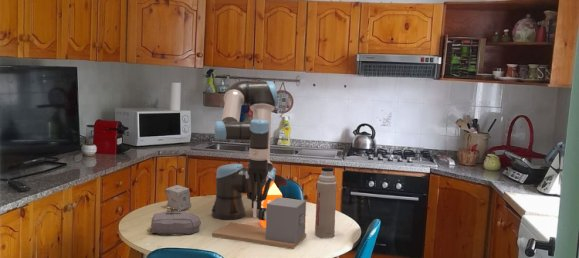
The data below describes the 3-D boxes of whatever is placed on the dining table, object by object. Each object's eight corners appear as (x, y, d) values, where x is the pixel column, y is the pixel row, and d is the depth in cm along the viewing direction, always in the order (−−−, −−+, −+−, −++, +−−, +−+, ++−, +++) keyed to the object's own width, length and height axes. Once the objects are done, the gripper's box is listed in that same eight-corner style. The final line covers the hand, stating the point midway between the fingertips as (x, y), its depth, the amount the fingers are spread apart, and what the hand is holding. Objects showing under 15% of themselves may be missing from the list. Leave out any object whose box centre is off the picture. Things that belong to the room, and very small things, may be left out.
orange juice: (263, 228, 224) (264, 182, 221) (259, 222, 232) (260, 178, 230) (281, 228, 226) (283, 182, 223) (277, 222, 234) (278, 177, 232)
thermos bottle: (316, 237, 214) (319, 169, 211) (313, 231, 222) (316, 165, 219) (335, 238, 215) (338, 170, 212) (332, 232, 223) (335, 166, 220)
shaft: (258, 221, 210) (258, 209, 209) (262, 218, 215) (263, 206, 214) (301, 227, 204) (301, 214, 203) (305, 224, 209) (305, 211, 208)
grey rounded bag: (149, 237, 209) (200, 236, 212) (149, 216, 208) (200, 216, 211) (153, 225, 224) (201, 225, 226) (153, 206, 223) (202, 206, 225)
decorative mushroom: (286, 207, 259) (287, 177, 257) (263, 206, 259) (264, 176, 257) (286, 202, 270) (287, 173, 268) (265, 201, 270) (266, 172, 268)
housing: (212, 236, 211) (213, 198, 210) (230, 225, 226) (231, 190, 225) (292, 249, 200) (294, 208, 198) (306, 237, 215) (307, 199, 213)
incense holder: (164, 208, 250) (164, 186, 249) (179, 205, 256) (179, 184, 255) (176, 212, 244) (176, 190, 243) (191, 209, 250) (191, 187, 249)
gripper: (239, 158, 209) (237, 216, 211) (269, 161, 204) (267, 221, 207) (247, 155, 216) (245, 212, 218) (276, 159, 211) (274, 216, 214)
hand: (256, 216), depth 213 cm, fingers closed
